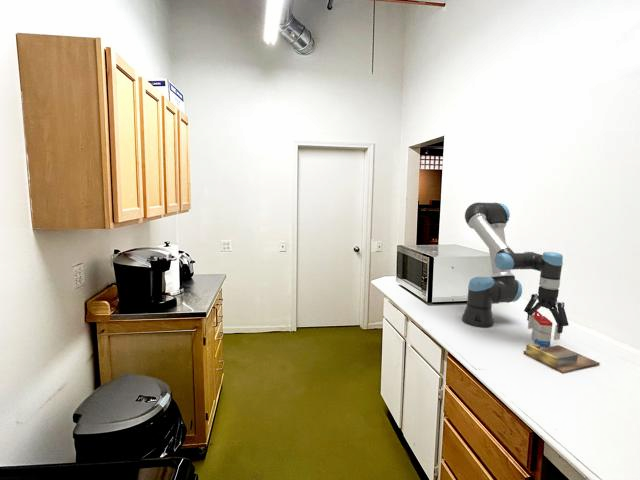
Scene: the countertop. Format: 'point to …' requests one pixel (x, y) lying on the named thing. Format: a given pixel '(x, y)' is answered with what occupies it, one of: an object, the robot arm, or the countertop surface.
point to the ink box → (541, 330)
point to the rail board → (569, 367)
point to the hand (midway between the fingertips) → (543, 333)
